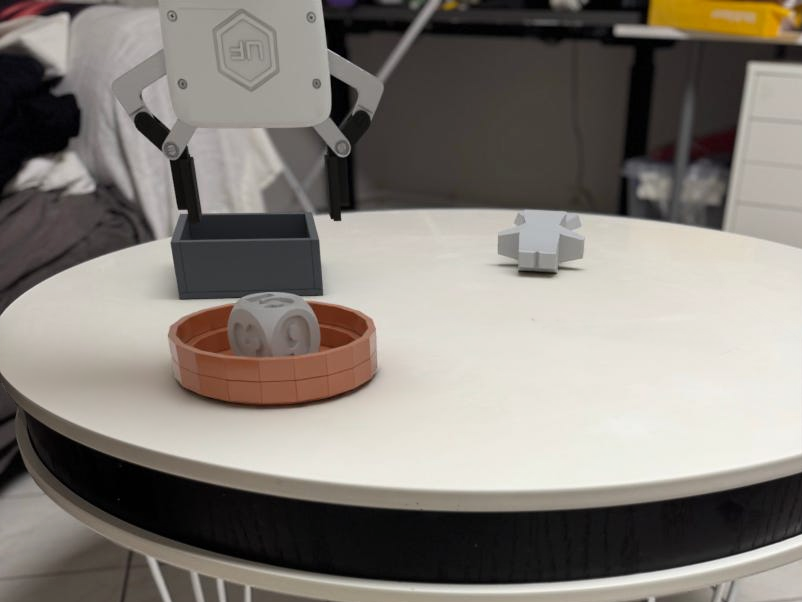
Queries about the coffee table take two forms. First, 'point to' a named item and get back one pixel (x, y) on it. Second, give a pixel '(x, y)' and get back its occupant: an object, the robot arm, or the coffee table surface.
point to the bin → (247, 255)
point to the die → (273, 326)
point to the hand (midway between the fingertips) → (266, 219)
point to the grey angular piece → (542, 240)
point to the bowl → (273, 359)
